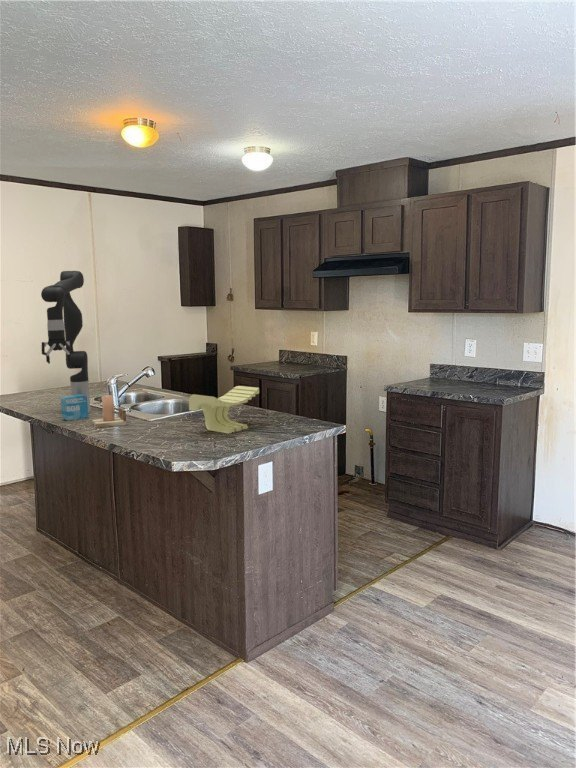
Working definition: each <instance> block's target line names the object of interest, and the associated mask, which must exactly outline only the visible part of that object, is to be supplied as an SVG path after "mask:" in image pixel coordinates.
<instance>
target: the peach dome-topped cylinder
mask: <svg viewBox="0 0 576 768" xmlns="http://www.w3.org/2000/svg"><path fill="white" fill-rule="evenodd" d="M101 406H102V419H103V421H114V417H115V409H114V408H115V407H114V395H112V394H105V395H101Z"/></svg>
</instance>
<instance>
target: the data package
mask: <svg viewBox="0 0 576 768" xmlns="http://www.w3.org/2000/svg"><path fill="white" fill-rule="evenodd" d="M60 408H61V418H62V420H64V421H67V422H70V421H69V420H71V421H76V419H77V420H81V419H82V418H84V419H87V418H88V417H89V413H88V403H87V396H85V395H82V394H80V395H72V396H71V395H66V396H62V397H61V398H60ZM82 420H83V419H82Z"/></svg>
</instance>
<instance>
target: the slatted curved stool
mask: <svg viewBox="0 0 576 768" xmlns="http://www.w3.org/2000/svg"><path fill="white" fill-rule="evenodd" d="M259 394H260V387H255V386H246V385H236V386H235V387H233V388H232V389H230V390H229V391H228V392H226V393H224V395H222V396H220V397H215V396H211V395H210V396H209V395H204V394H194V393H193V394H191V395H190V396H189V398H188V411H191V412H197V411H199V410H202V413H203V415H204V422H205V423H204V424H205V427H206V429H207V430H208V431H212V432H218V433H223V434H224V433H225V434H233V433H236V432H239V431H242V430H247V429H249V427H248V424H246V423H240V422H236V421H234V420H232V419H231V418H229V416H228V414H229V410H230V408H231V407H232V406H237V405H241V404H246V403H249V402H248V401H251V400H252V398H255V397H256V395H259ZM232 432H233V433H232Z"/></svg>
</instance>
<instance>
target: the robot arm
mask: <svg viewBox="0 0 576 768" xmlns="http://www.w3.org/2000/svg"><path fill="white" fill-rule="evenodd" d="M84 282H85V279H84V274H83V273H82V272H81V271H78V270H63V271H61V272H60V276H59V281H57V282H56V283H54V284H51V285H48V286H45V287H43V288H42V290H41V292H40V293H41V295H40V297H41V298H42V300H43V301H44V302H46V303H56V304H55V305H54V306H50V307H48V308H47V309H46V317H47V338H48V340H47V342H45V341H42V342H41V354H42V356H45V360H46V361H45V362H46V363H47V364H50V363H51V361H50V359H51V358H50V354H51V353H52V351H54V352H56V351H62V350H63V351H64V353H65V364H66V368H67V369H69V370H70V369H71V370H73V369H81V370H80V371H79V372H77V373H75V374H72V375H70V377H69V381H70V393H71V395H70V396H72V395H80V394H82V395H85V396H87V403H88V414H90V413H91V410H92V409H91V400H90V399H91V398H90V397H91V396H90V384H89V382H90V381H89V370H88V369H89V368H88V367H89V365H88V364H89V363H88V359H89V357H88V353H87V352H86V351H85V350H74V343H75V341H76V339H77V338H78V336H79V334H80V332H81V330H82V328H83V326H84V325H83V324H84V323H83V313H82V311H81V309H80V308H79V307H78V305H77V304H76V303H75V301H74V300H73V298H72V295H71V292H72V291H75V290H76V289H81V288H82V287H83V285H84ZM47 346H48V347H49V349H48V350H47V351H45V348H46V347H47Z"/></svg>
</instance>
